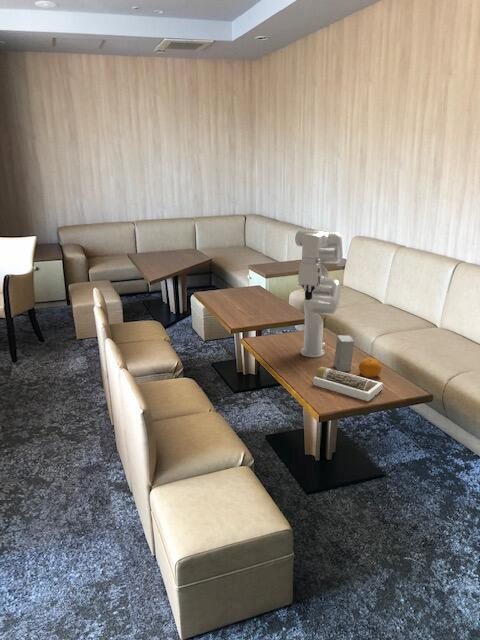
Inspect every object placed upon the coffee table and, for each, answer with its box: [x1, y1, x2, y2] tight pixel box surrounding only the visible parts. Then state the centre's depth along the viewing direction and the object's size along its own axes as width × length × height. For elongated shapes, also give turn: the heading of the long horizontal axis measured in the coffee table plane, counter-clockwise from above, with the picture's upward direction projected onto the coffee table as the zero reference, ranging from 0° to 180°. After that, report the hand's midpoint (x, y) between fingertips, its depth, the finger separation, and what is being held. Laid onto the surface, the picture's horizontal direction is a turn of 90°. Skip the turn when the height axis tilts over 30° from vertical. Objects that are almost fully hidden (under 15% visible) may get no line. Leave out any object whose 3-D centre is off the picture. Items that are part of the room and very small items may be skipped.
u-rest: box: [312, 368, 384, 402], centre depth 236 cm, size 14×27×4 cm, turn 52°
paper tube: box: [315, 366, 372, 392], centre depth 236 cm, size 7×7×25 cm
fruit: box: [358, 357, 382, 378], centre depth 249 cm, size 10×10×8 cm
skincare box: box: [333, 334, 355, 372], centre depth 256 cm, size 8×7×16 cm
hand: (308, 299), depth 247 cm, fingers closed
